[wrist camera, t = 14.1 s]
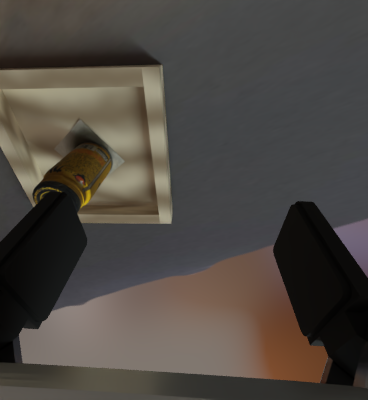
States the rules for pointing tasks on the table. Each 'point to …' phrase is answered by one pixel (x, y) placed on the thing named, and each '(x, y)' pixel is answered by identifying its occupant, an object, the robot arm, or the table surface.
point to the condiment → (79, 166)
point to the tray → (101, 125)
